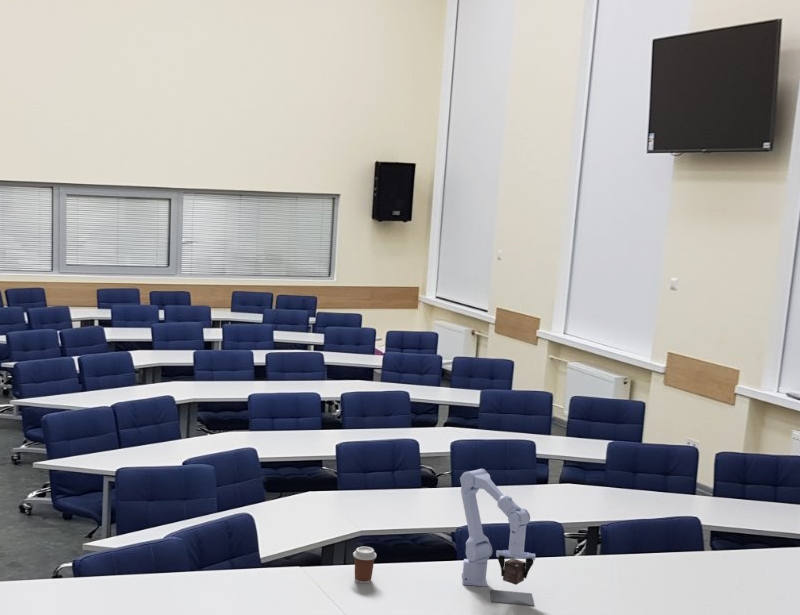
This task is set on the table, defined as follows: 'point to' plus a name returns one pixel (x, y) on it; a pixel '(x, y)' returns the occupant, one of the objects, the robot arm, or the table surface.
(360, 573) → the coffee cup
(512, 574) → the box
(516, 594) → the desk mat
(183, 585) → the table surface
